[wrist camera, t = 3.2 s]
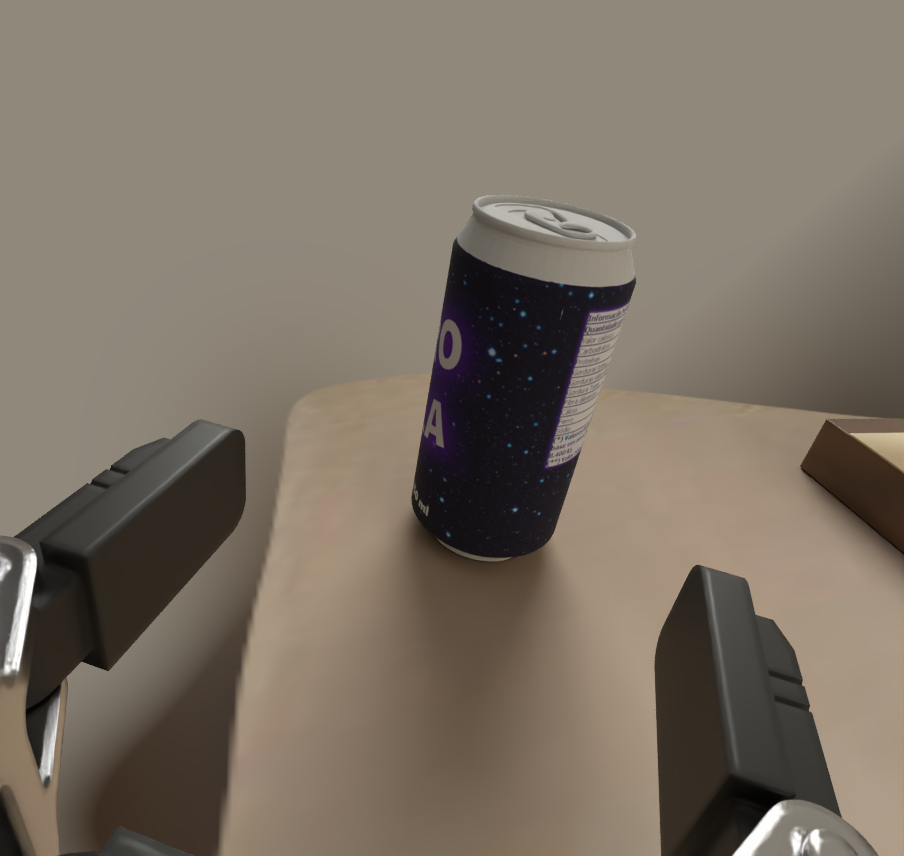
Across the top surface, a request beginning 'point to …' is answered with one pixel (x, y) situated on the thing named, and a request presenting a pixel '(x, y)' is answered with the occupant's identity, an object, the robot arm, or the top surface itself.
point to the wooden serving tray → (863, 470)
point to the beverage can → (518, 370)
